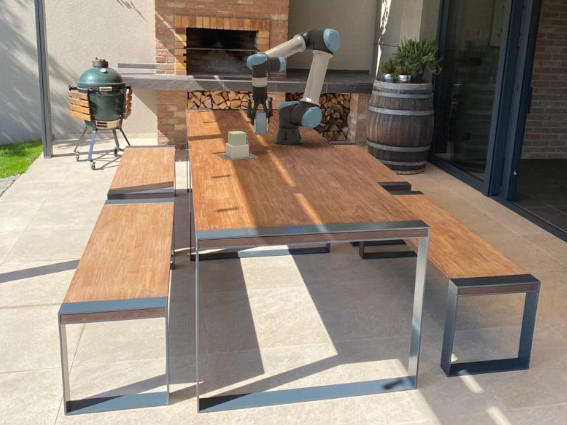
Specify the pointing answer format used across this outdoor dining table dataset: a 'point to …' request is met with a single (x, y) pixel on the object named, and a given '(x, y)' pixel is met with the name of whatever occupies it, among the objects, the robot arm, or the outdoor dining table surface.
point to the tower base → (237, 151)
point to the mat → (235, 158)
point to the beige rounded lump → (246, 139)
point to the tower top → (236, 138)
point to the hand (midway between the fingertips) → (260, 130)
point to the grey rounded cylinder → (260, 123)
